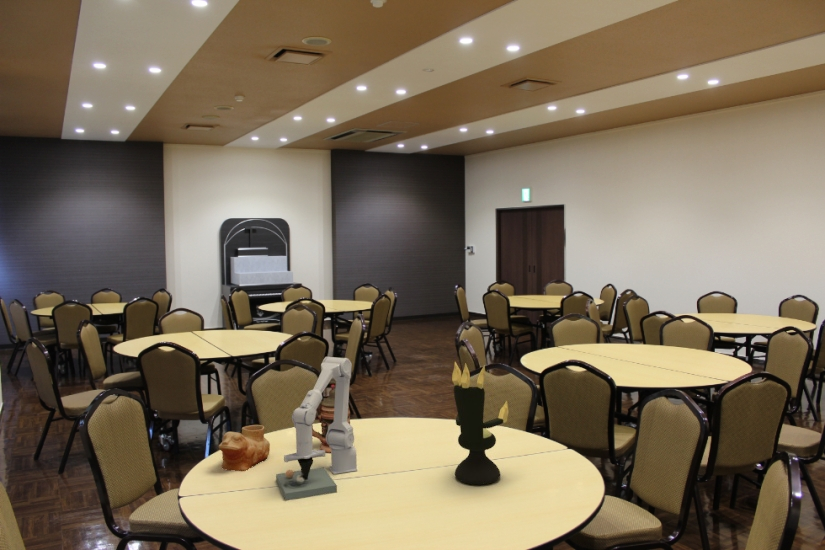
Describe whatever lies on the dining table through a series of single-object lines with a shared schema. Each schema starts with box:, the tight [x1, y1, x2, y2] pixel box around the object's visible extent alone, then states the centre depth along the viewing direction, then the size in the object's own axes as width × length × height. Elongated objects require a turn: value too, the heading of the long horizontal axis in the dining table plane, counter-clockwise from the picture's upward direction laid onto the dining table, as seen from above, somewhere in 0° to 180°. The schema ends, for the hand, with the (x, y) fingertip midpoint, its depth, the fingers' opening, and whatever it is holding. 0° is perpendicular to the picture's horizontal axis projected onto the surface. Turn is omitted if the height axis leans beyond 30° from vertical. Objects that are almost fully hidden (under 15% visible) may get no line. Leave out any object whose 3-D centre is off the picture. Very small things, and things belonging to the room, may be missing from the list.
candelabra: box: [451, 361, 509, 486], centre depth 237 cm, size 19×22×45 cm
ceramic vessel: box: [218, 424, 271, 472], centre depth 262 cm, size 14×26×15 cm, turn 158°
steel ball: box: [296, 475, 305, 484], centre depth 232 cm, size 3×3×3 cm
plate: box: [275, 466, 338, 501], centre depth 236 cm, size 18×20×2 cm
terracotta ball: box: [285, 469, 294, 478], centre depth 238 cm, size 3×3×3 cm
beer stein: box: [312, 384, 351, 454], centre depth 279 cm, size 17×28×18 cm
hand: (305, 478), depth 233 cm, fingers closed, pressing on steel ball
